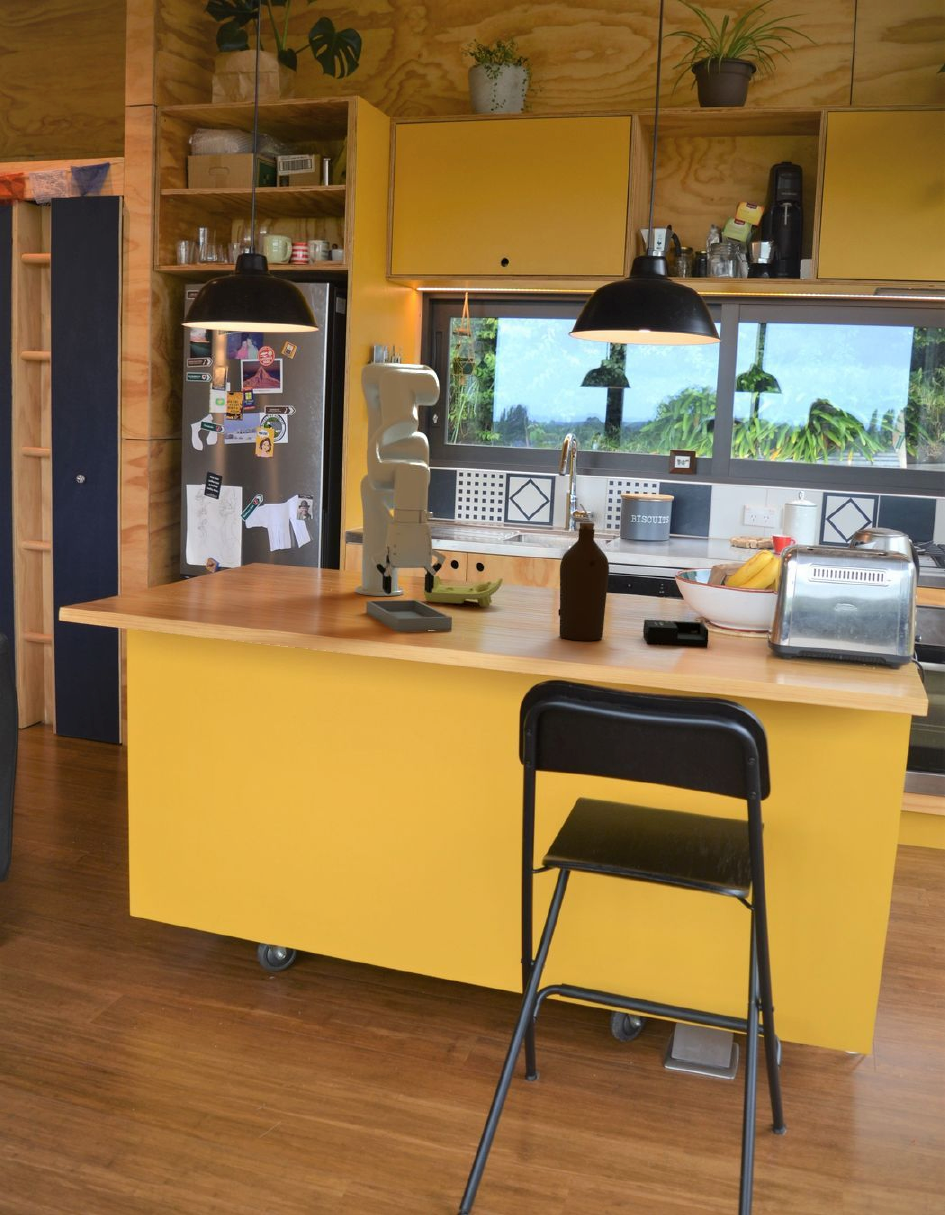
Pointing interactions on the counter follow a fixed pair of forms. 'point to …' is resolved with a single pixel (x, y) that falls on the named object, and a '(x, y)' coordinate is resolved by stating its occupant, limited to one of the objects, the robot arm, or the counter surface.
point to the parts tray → (408, 615)
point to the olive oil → (583, 588)
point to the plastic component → (462, 592)
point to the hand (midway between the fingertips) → (407, 592)
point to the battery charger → (675, 633)
